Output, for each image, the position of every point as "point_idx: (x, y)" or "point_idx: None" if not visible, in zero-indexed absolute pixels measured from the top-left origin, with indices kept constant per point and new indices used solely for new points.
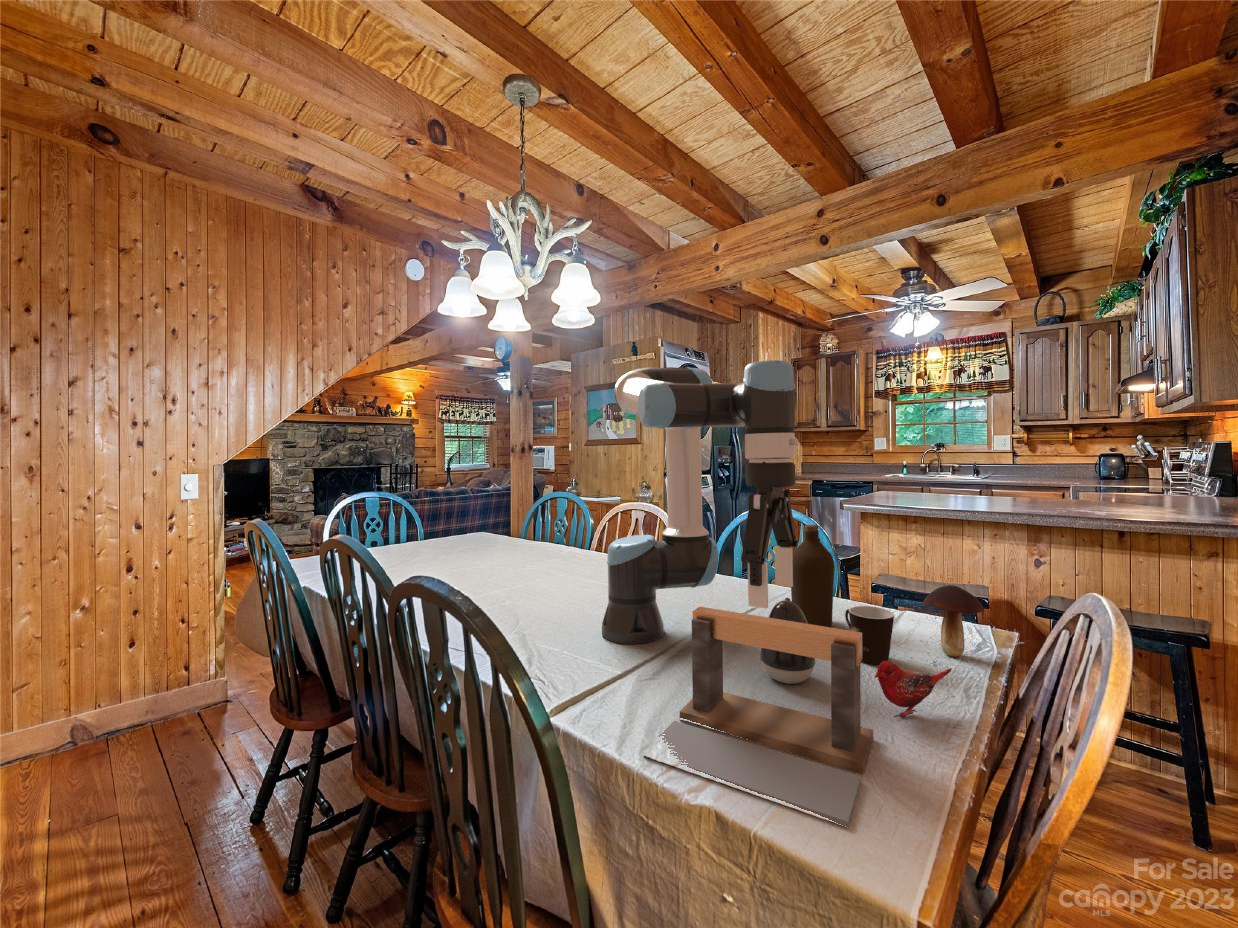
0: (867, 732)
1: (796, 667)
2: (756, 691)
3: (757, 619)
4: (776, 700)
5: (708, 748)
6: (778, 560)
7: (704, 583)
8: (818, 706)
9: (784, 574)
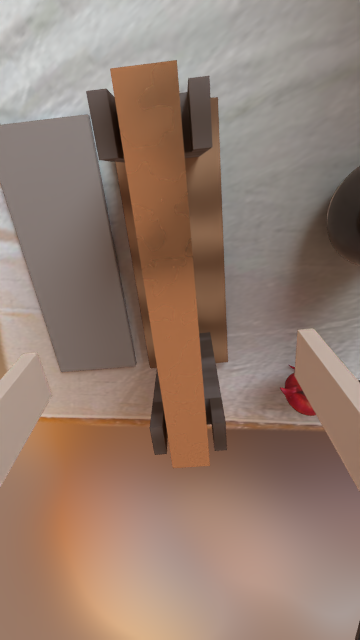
0: (217, 358)
1: (335, 247)
2: (281, 182)
3: (165, 291)
4: (265, 225)
5: (63, 209)
6: (336, 396)
7: None
8: (277, 283)
9: (310, 380)
